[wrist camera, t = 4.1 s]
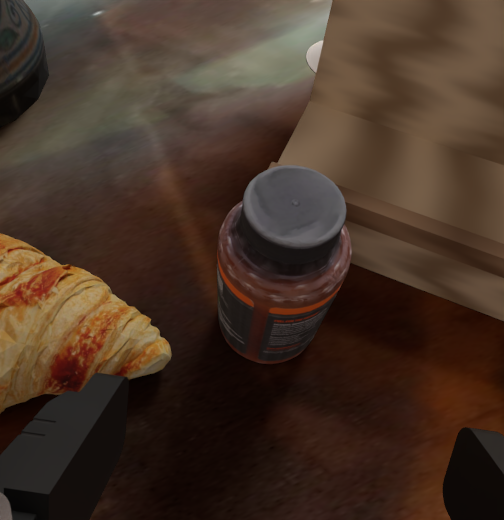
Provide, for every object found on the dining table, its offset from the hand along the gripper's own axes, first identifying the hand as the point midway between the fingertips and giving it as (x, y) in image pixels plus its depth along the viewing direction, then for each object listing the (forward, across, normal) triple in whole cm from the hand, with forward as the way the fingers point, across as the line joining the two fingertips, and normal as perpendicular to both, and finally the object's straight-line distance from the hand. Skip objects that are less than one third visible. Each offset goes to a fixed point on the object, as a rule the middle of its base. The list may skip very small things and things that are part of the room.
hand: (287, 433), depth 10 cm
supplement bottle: (+15, 0, +3) cm, 15 cm away
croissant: (+13, +16, +6) cm, 21 cm away
